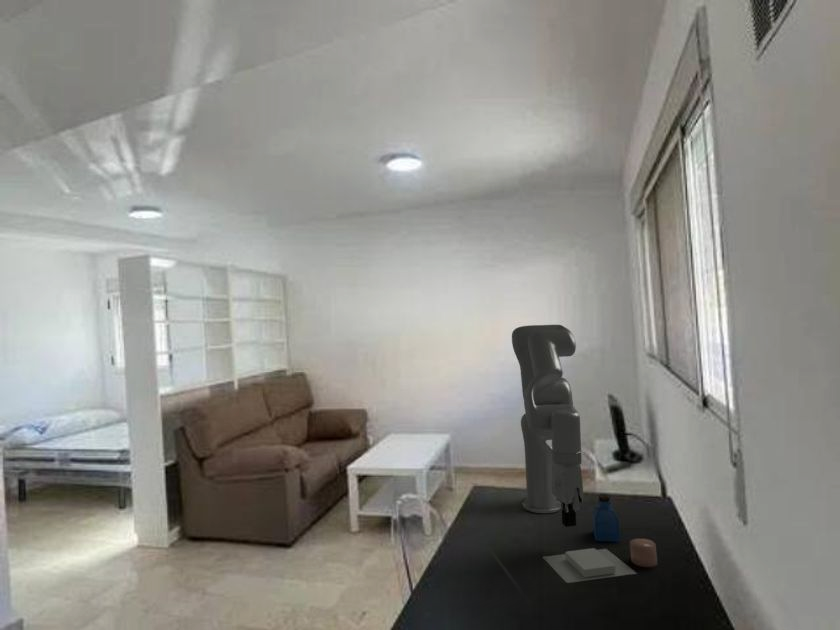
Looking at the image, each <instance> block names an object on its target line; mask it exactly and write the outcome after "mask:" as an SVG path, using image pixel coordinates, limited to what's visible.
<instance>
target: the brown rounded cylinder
mask: <svg viewBox="0 0 840 630" xmlns="http://www.w3.org/2000/svg"><path fill="white" fill-rule="evenodd" d="M656 545H657V544H656V543H655V542H654V541H653V540H650V539H648V538H635V539H634V538H633V539H631V540H630V541H629V549H630V559H631V562H632V563H633V564H634V565H636V566H638V567H642V568H654V567H656V566H658V555H657V554H658V553H657V546H656Z"/></svg>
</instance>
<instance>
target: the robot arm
mask: <svg viewBox="0 0 840 630" xmlns="http://www.w3.org/2000/svg"><path fill="white" fill-rule="evenodd" d="M511 343H512V349H513V352H514V356H515V357H516V359H517V362H518V364H519V368H520V381H521V391H522V392H521V393H522V397H523V405H524V412H525V413H524V414H523V415H522V416H521V419H520V428H521V432H522V439H523V444H524V445H523V446H524V459H525V460H524V462H525V485H526V499H524V500H523V501H522V504H521V505H522V508H523V509H524V510H526V511H527V512H531V513H536V514H553V513H556V512H557V513H558V511H560V510H561V523H562V525H563V526H564V527H566V528H568V527H575V526H577V510H580V509H581V505H580V504H581V503H583V501H584V483H583V474H582V467H581V465H582V462H583V461H582V442H581V441H582V438H581V437H582V436H581V419H580V418H581V417H580V416H581V415H580V414H579V412H578V410H577V409H576V407H575V406H574V401H573V392H572V388H571V385H570V383H569V381H568V380H567V379H566V378H564V377H563V375H564V371H563V368H562V364H561V359H560V358H562V357H564V358H565V357H571V356H573V355H575V352H576V350H577V344H576V340H575V336H574V335H573V333H572V331H571V330H569V328H567V327H566V326H563V325H561V324H539V325H538V324H537V325H536V324H533V325H532V324H531V325H523V326H519V327H516V328H514V330H513V331H512V332H511ZM547 441H551V446H549V444H548V443H547ZM558 499H559V500H558Z"/></svg>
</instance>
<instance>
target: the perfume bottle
mask: <svg viewBox="0 0 840 630" xmlns="http://www.w3.org/2000/svg"><path fill="white" fill-rule="evenodd" d="M591 517H592V532H593V536H594V539H595V541H596V542H613V543H614V542H617V543H620V521H619V518H618V517H617V514H616V513H615V510H614V509H613V507H612V500H611V495H609V494H606V493H600V494H598V499H597V504H596V505H595V507H594V509H593V510H592V516H591Z"/></svg>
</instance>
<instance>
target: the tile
mask: <svg viewBox="0 0 840 630" xmlns="http://www.w3.org/2000/svg"><path fill="white" fill-rule="evenodd" d="M597 550H598V549H596V548H595V547H592V548H584V549H583V548H582V549H577V550H569V551H565V553H564V554H565V558H566V560H567V561H568V562H569V563H570V564H571V565H572V566H573V567H574V568H575V569H576V570H577V571H579V572H580V573H581V574H582V575H583V576H584V577H593V576H600V575H607V574H614V573H616V571H615V565H614V564H613V563H611V562H610V561H609V560H608V559H607V558H605V557H604V556H603V555H602V554H601V553H599V552H598V551H597Z"/></svg>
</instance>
